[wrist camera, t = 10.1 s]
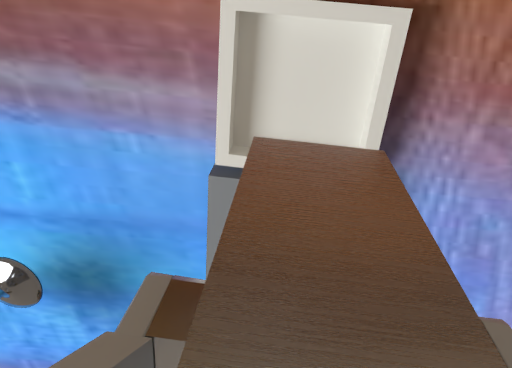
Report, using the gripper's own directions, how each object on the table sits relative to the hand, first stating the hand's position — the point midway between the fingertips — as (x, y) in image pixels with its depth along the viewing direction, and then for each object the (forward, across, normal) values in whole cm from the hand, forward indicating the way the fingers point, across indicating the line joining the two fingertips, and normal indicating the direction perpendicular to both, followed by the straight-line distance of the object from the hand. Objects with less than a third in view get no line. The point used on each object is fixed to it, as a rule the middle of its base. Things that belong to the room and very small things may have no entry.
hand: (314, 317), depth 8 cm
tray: (+24, 0, 0) cm, 24 cm away
